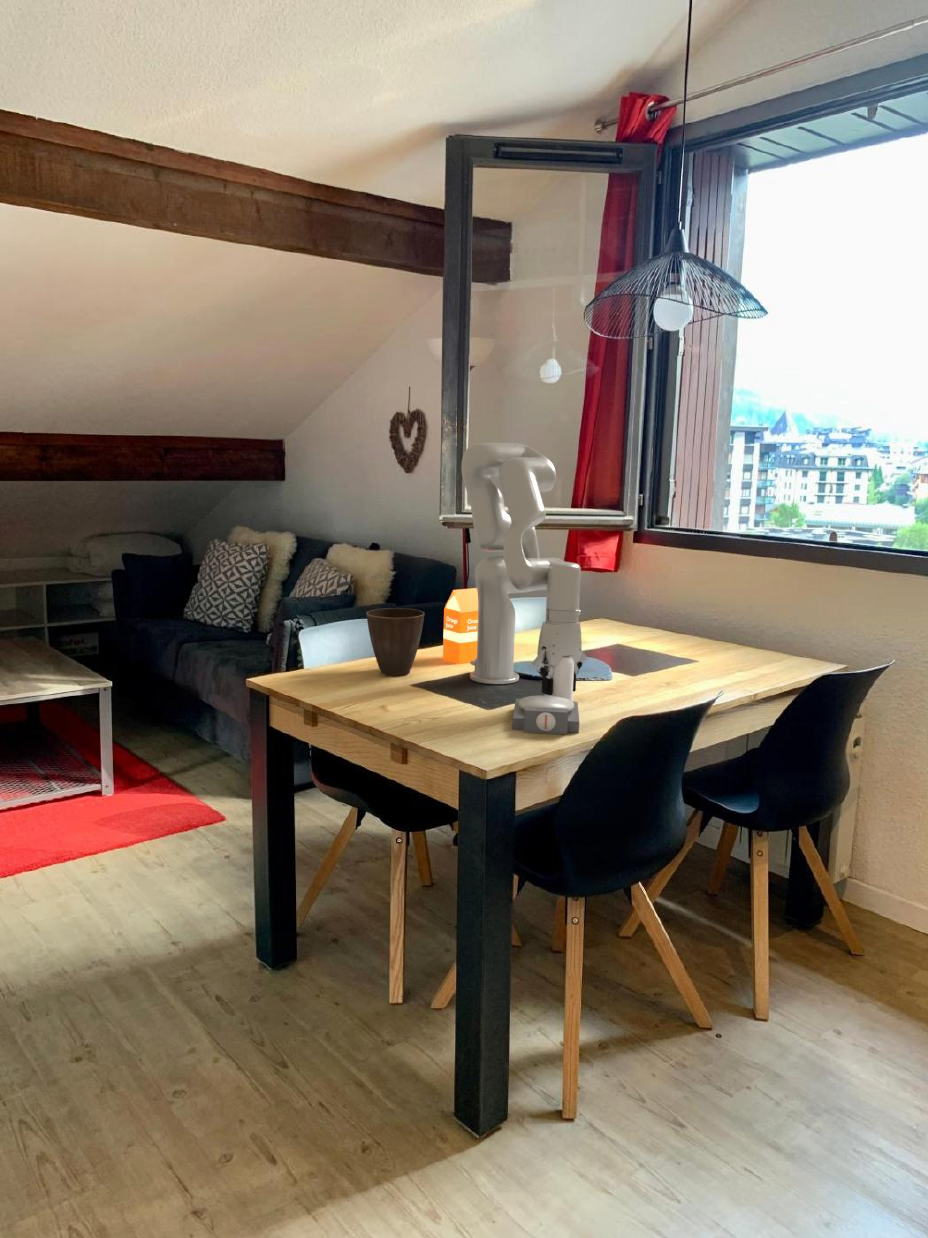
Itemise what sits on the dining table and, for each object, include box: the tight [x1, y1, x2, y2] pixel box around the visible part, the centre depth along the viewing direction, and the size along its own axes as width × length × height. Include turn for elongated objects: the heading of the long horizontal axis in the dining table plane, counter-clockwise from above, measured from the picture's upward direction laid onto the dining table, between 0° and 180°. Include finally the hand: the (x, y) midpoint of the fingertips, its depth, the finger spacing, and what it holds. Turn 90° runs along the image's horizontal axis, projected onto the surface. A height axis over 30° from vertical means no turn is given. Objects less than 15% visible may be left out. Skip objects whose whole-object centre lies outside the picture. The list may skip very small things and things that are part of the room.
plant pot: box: [365, 607, 425, 677], centre depth 246 cm, size 15×15×16 cm
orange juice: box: [442, 587, 478, 665], centre depth 263 cm, size 8×9×20 cm
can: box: [544, 656, 574, 702], centre depth 220 cm, size 6×6×12 cm
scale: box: [511, 695, 580, 735], centre depth 206 cm, size 18×14×5 cm
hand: (558, 691), depth 221 cm, fingers closed on can, 6 cm apart
